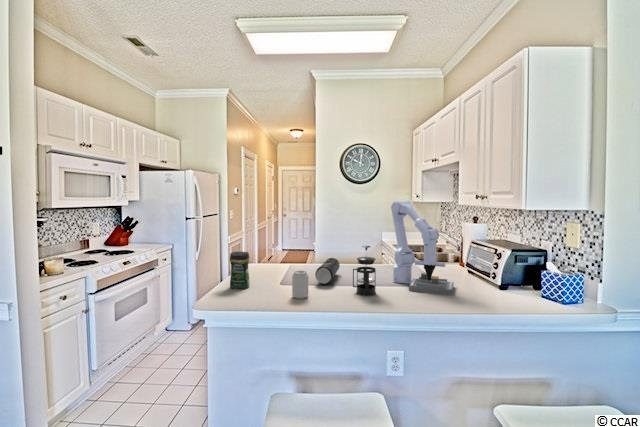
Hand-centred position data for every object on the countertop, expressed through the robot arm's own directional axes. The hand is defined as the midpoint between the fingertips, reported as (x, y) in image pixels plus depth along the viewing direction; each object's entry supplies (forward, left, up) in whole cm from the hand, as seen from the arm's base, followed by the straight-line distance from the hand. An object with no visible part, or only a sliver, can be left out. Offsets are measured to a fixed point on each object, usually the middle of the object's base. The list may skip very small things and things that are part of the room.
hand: (429, 280), depth 175 cm
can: (-54, -35, -5) cm, 65 cm away
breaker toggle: (+3, 0, -2) cm, 4 cm away
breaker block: (+1, +3, -5) cm, 6 cm away
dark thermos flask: (-54, 0, -5) cm, 54 cm away
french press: (-28, -17, -5) cm, 33 cm away
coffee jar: (-90, -32, -5) cm, 96 cm away
